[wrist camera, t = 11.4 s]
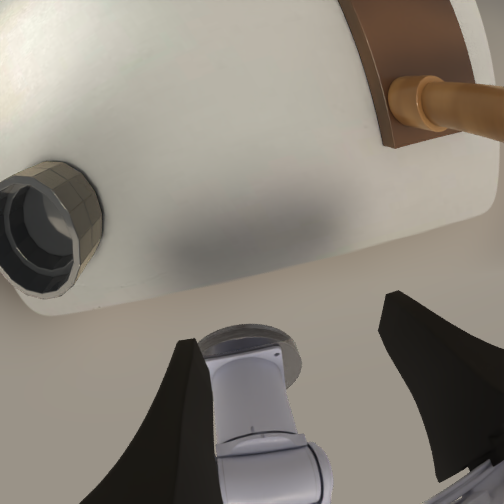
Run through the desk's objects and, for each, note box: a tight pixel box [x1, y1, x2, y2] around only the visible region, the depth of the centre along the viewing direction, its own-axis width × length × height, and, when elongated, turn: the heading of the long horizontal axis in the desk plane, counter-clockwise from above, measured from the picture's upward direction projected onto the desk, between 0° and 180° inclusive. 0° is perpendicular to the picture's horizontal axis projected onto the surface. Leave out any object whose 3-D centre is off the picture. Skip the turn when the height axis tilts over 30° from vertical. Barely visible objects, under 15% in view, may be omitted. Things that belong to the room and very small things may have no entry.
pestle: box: [388, 75, 504, 143], centre depth 11 cm, size 4×4×9 cm
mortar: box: [0, 161, 102, 299], centre depth 14 cm, size 8×8×4 cm
